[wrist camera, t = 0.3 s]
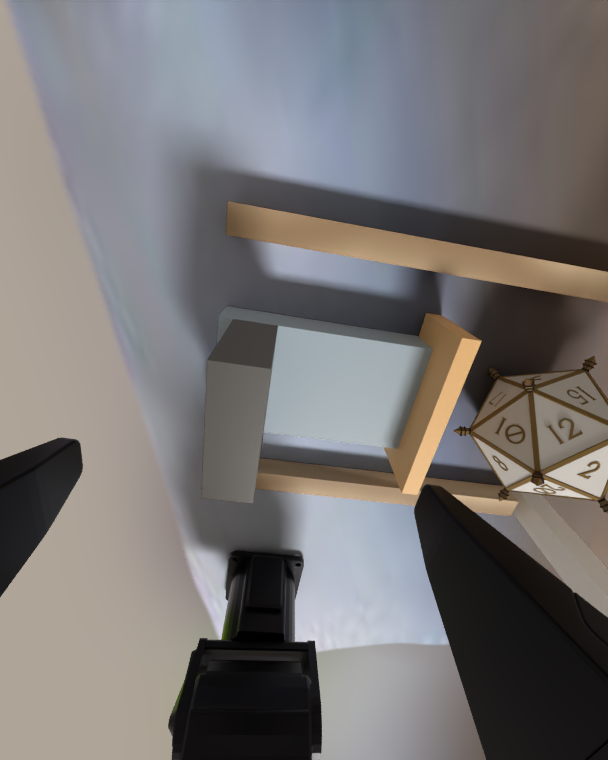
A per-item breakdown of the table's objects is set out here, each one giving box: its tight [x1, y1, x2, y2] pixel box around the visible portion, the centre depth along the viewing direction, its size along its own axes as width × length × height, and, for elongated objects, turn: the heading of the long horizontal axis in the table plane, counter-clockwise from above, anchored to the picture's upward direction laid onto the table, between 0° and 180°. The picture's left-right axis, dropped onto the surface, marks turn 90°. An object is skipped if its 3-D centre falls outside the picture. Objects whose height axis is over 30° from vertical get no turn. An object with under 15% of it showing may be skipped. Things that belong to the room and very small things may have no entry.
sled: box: [201, 306, 482, 503], centre depth 18 cm, size 10×13×8 cm
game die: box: [454, 356, 608, 513], centre depth 19 cm, size 9×8×10 cm
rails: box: [226, 201, 608, 516], centre depth 21 cm, size 18×23×2 cm
